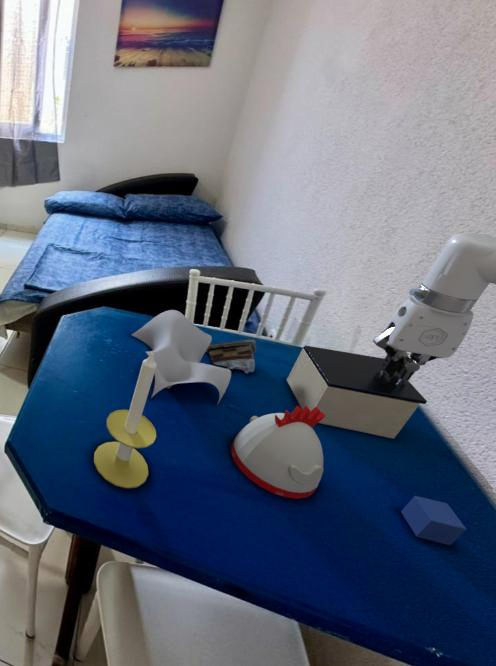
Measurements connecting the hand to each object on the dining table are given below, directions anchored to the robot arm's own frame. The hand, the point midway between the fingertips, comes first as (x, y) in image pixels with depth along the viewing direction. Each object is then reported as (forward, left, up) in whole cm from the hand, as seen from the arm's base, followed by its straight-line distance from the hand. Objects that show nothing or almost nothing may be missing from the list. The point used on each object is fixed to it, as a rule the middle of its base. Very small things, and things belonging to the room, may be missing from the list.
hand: (393, 373), depth 85 cm
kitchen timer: (+25, +22, -12) cm, 35 cm away
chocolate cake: (+26, -9, -12) cm, 30 cm away
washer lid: (+6, 0, -2) cm, 6 cm away
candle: (+53, +31, -12) cm, 63 cm away
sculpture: (+40, -3, -12) cm, 42 cm away
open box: (+6, 0, -11) cm, 13 cm away
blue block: (+4, +28, -11) cm, 31 cm away
